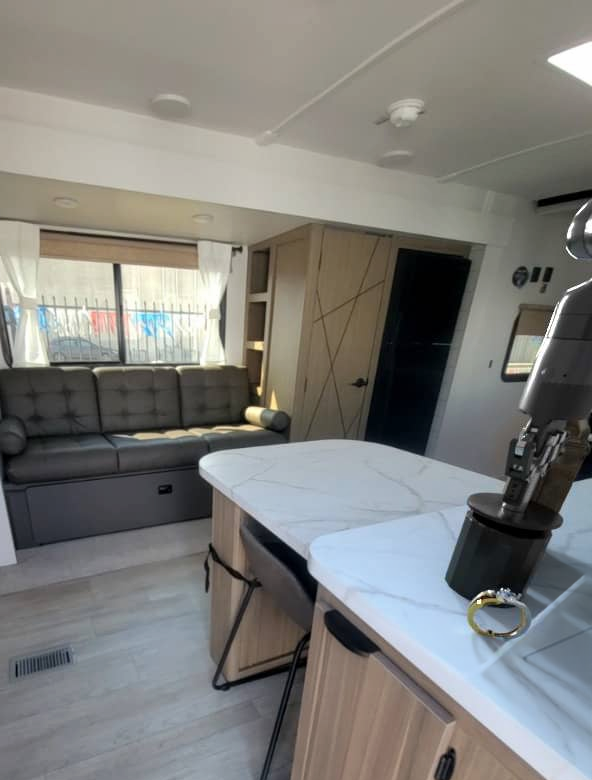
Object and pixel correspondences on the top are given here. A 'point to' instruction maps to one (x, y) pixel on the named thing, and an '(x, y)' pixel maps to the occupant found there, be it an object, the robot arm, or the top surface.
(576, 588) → the top surface
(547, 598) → the top surface
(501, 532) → the tin
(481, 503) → the lid
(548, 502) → the weathered brown block
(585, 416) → the robot arm
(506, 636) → the ring
